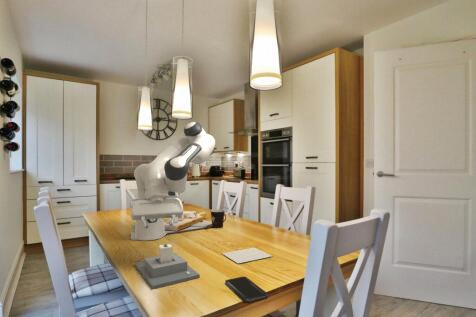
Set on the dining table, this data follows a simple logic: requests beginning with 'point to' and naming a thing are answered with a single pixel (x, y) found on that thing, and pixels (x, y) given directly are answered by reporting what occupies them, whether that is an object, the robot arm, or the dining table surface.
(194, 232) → the dining table surface
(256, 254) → the paper stack
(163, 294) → the dining table surface
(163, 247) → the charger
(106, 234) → the dining table surface
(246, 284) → the phone
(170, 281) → the power dock
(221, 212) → the coffee mug
